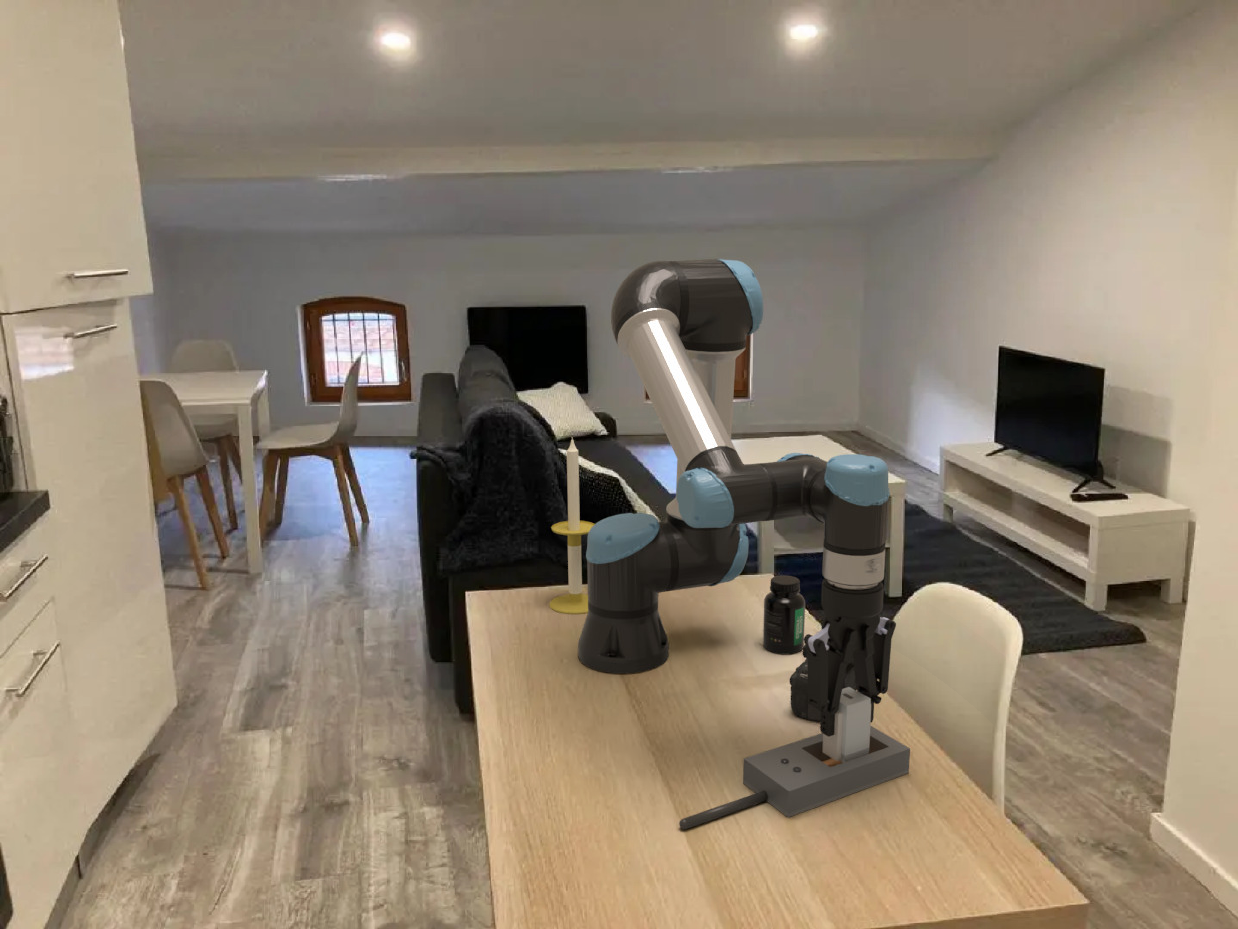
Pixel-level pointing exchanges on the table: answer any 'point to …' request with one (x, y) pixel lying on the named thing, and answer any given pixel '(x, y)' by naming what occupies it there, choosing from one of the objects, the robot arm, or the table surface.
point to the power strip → (811, 776)
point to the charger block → (854, 724)
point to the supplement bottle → (784, 616)
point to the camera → (801, 689)
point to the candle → (573, 542)
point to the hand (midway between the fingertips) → (845, 750)
